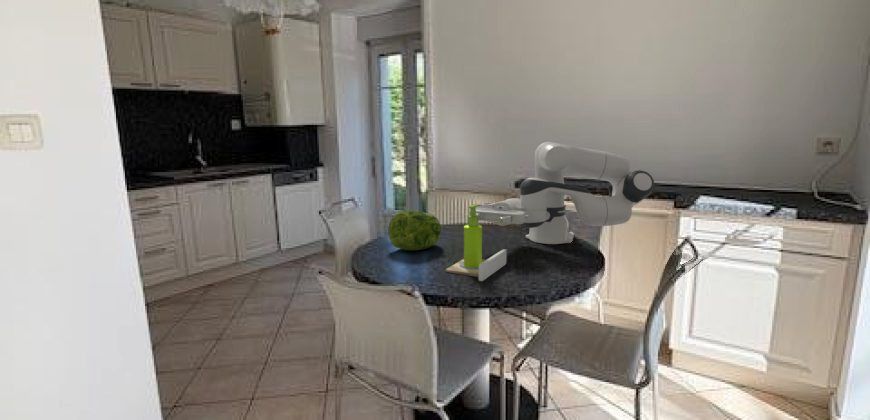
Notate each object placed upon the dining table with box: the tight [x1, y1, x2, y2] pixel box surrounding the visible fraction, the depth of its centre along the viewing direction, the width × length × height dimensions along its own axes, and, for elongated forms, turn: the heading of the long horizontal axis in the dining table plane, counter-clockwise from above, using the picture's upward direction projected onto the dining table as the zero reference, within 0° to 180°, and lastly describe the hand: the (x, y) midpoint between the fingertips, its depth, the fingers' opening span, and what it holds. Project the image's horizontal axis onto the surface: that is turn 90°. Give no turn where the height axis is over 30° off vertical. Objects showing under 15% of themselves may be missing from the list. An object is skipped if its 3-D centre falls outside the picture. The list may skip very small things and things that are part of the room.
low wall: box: [478, 248, 508, 282], centre depth 151 cm, size 20×1×5 cm, turn 151°
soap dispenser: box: [463, 203, 483, 268], centre depth 154 cm, size 6×7×20 cm
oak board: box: [445, 258, 487, 278], centre depth 156 cm, size 16×12×1 cm
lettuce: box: [387, 210, 443, 252], centre depth 179 cm, size 16×21×15 cm
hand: (489, 219), depth 163 cm, fingers open, 8 cm apart
